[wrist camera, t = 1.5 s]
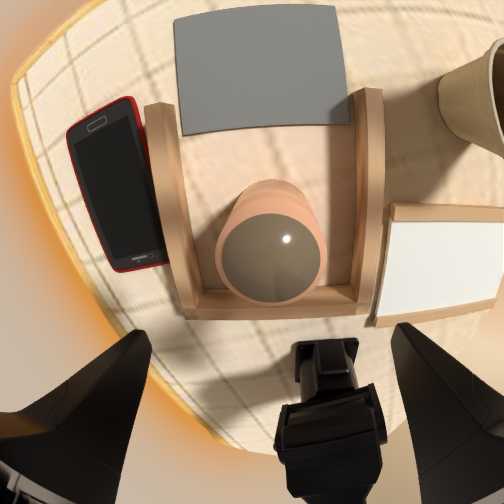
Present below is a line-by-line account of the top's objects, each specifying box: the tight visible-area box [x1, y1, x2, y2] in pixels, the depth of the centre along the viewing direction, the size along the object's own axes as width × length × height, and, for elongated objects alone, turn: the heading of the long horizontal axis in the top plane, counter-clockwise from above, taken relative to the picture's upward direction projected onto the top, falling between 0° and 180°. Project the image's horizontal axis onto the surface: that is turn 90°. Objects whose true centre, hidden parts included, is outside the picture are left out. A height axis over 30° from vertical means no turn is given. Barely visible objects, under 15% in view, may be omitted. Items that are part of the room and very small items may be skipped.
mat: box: [174, 4, 349, 135], centre depth 15 cm, size 10×12×1 cm
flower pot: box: [438, 38, 504, 159], centre depth 11 cm, size 9×9×9 cm
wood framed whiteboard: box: [373, 203, 504, 329], centre depth 20 cm, size 17×12×1 cm
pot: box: [215, 179, 327, 306], centre depth 17 cm, size 6×6×7 cm
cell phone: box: [66, 96, 170, 273], centre depth 20 cm, size 8×15×1 cm, turn 14°
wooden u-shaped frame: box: [144, 87, 385, 320], centre depth 19 cm, size 17×15×3 cm
